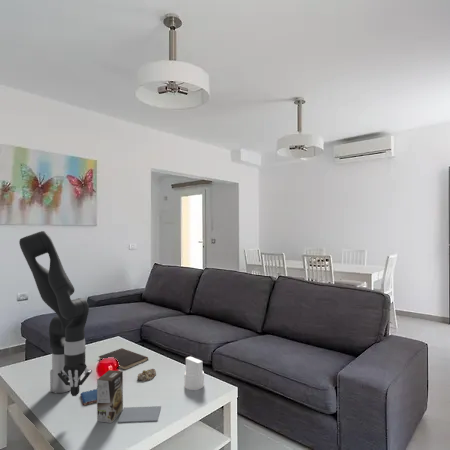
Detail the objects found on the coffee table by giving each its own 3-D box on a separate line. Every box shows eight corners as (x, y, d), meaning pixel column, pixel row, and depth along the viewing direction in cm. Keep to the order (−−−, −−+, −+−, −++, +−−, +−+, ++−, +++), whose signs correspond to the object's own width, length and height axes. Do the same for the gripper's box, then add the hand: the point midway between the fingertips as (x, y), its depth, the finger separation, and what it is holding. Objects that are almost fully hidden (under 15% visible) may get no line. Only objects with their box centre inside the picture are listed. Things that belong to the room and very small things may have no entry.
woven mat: (109, 400, 146) (109, 395, 146) (83, 407, 141) (83, 402, 141) (105, 390, 155) (105, 385, 155) (80, 396, 150) (79, 391, 150)
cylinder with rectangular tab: (180, 385, 158) (180, 360, 158) (194, 379, 165) (194, 354, 165) (193, 392, 152) (193, 365, 152) (207, 385, 159) (207, 359, 159)
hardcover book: (124, 370, 176) (124, 366, 176) (98, 360, 189) (98, 356, 189) (148, 360, 188) (148, 356, 188) (122, 351, 202) (122, 347, 202)
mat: (117, 422, 129) (117, 421, 129) (123, 408, 139) (123, 407, 139) (157, 421, 130) (157, 420, 130) (160, 407, 140) (160, 406, 140)
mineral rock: (146, 378, 161) (134, 370, 165) (144, 387, 161) (132, 378, 165) (161, 371, 170) (150, 363, 174) (159, 379, 170) (148, 371, 175)
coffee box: (111, 423, 129) (111, 380, 128) (96, 421, 130) (96, 379, 130) (123, 410, 138) (123, 370, 137) (109, 408, 139) (108, 369, 139)
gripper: (53, 354, 129) (53, 400, 129) (88, 354, 129) (88, 399, 129) (61, 347, 136) (62, 390, 136) (95, 347, 137) (95, 390, 137)
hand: (75, 395), depth 133 cm, fingers closed
